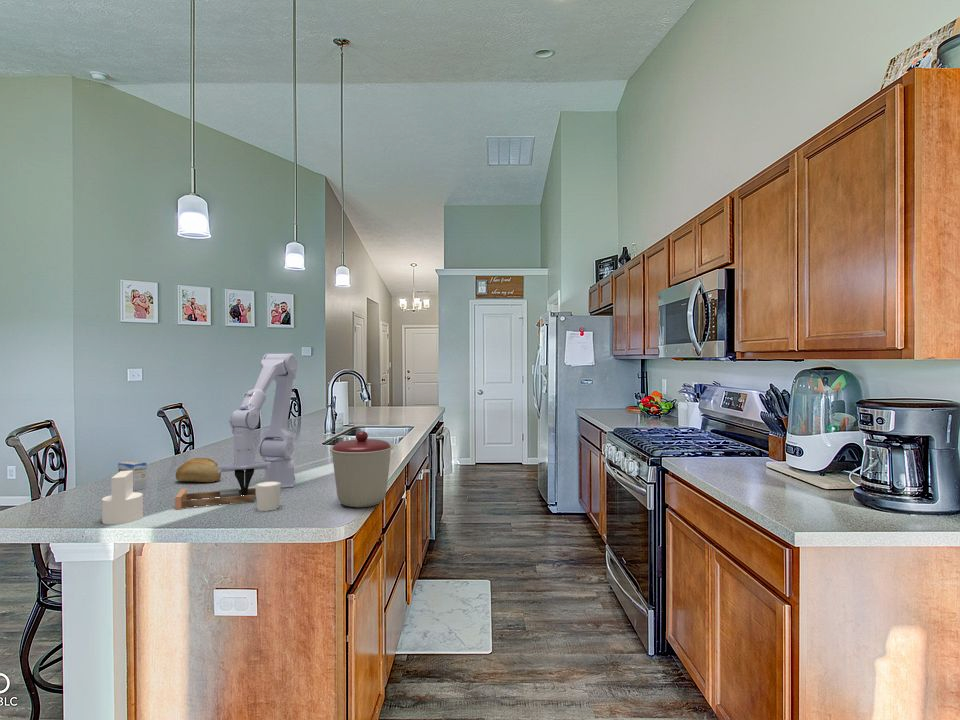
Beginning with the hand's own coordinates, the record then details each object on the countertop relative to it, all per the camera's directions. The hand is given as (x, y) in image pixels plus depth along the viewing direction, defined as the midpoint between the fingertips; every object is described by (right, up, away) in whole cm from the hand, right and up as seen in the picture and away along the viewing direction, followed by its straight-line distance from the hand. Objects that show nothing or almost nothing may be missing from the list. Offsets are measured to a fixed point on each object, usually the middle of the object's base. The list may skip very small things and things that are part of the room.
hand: (244, 494), depth 163 cm
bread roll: (-26, -2, +23) cm, 35 cm away
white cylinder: (+11, -2, -10) cm, 15 cm away
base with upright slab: (-24, -2, -20) cm, 31 cm away
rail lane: (-7, -2, -2) cm, 7 cm away
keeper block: (-4, -2, -1) cm, 5 cm away
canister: (+36, -2, -5) cm, 37 cm away
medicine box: (-42, -2, +13) cm, 44 cm away
